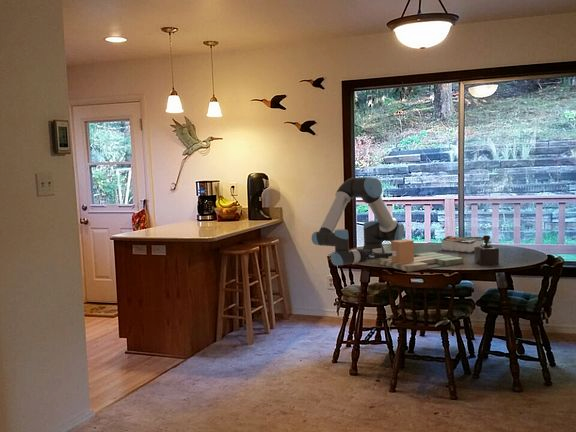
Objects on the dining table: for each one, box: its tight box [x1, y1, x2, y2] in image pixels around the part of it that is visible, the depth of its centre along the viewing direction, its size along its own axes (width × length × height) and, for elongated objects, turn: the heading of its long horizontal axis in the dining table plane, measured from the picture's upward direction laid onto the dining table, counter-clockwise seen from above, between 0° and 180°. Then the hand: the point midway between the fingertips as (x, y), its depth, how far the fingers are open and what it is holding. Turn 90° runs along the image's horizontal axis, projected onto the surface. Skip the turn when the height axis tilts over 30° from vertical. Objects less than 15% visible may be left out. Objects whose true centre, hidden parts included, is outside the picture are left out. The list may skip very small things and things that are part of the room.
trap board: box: [378, 251, 464, 273], centre depth 329 cm, size 28×40×3 cm
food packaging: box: [437, 235, 484, 253], centre depth 371 cm, size 25×8×23 cm
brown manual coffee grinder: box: [473, 234, 500, 266], centre depth 318 cm, size 16×11×18 cm
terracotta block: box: [390, 238, 415, 263], centre depth 322 cm, size 8×10×12 cm
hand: (388, 251), depth 318 cm, fingers open, 13 cm apart
